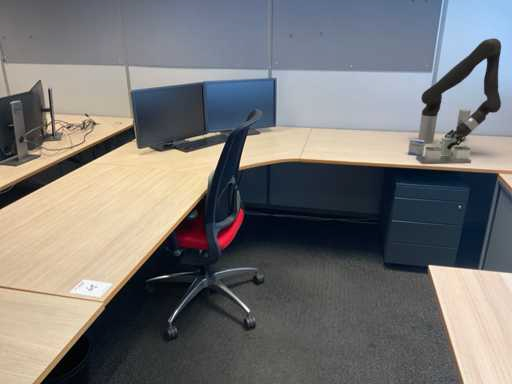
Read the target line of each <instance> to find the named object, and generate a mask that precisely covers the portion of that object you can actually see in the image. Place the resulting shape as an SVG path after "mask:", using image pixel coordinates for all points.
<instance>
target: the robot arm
mask: <svg viewBox="0 0 512 384" xmlns="http://www.w3.org/2000/svg"><path fill="white" fill-rule="evenodd" d="M501 51H502V43H501V41H500V40H499V39H498V38H494V37H493V38H488V39H484V40H482V41H481V42H480V43H479V44H478V45H477V46H476V47H475V48H474V50H473V51H471V52H470V53H469V55H468V56H466V57H464V59H462V60H461V61H459V63H457V64H455V66H453V67H452V68H451V69H450V70H449V71H447V73H446V74H444V75H443V77H441V78H440V79H439V80H438V81H437V82H436V83H434V84H433V85H431V86H430V87H429V88H427V89H425V91H424V92H423V93H422V95H421V103H423V104H424V105H425V106H424V107H423V109H422V111H421V118H420V122H419V123H420V124H419V129H418V132H419V133H418V137H417V138H418V139H417V140H425V144H432V143H434V140H435V139H434V138H435V132H436V126H437V121H438V114H439V111H440V110H441V104H442V99H443V94H444V93H445V92H446V91H448V90H451V89H452V88H454V87H456V86H457V85H459V84H460V83H462V82H463V81H464V80H466V78H468V76H470V74H472V72H473V71H474V69H475V68H476V67H477V66H478V65H479V64H481V63H482V62H483V61H485V60H486V68H485V73H484V79H483V93H484V95H485V96H486V100H484V101H483V102H482V103H481V104H480V105H479V107H478V108H477V109H476V111H474V112H473V113H472V114H470V117H468V118H467V119H465V120H464V121H463V122H462V123H461V124H460V125H458V126H457V125H456V127H455V128H456V129H457V130H456V129H455V130H454V129H451V130H450V131H448V133H446V134H445V135H444V137H443V138H451V139H453V142H452V143H450V144H449V145H448V146H447V148H448V149H449V150H450V149H451V150H452V149H453V148H454V147H455V146H456V147H459V145H461V143H463V141H464V140H465V141H466V139H467V138H465V137H468V136H469V134H471V133H472V132H473V131H474V130H475V129H477V128H478V127H479V125H481V124H482V123H483V122H484V121H485V120H486V118H487V117H486V116H487V115H489V113H494V114H495V113H498V112H499V111H500V109H501V105H502V101H501V98H500V97H501V96H500V93H499V68H500V58H501V53H502V52H501ZM459 141H460V142H459ZM465 141H464V142H465ZM441 142H442V141H441ZM441 142H440V145H441Z"/></svg>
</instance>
